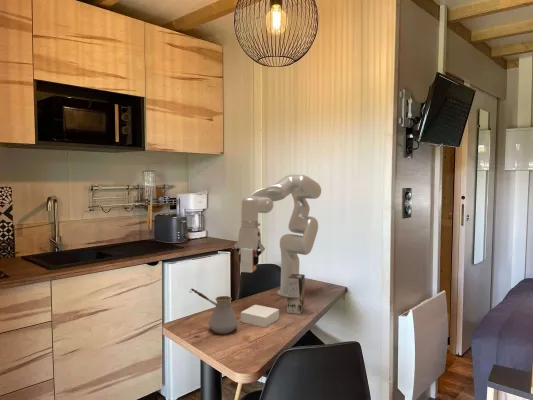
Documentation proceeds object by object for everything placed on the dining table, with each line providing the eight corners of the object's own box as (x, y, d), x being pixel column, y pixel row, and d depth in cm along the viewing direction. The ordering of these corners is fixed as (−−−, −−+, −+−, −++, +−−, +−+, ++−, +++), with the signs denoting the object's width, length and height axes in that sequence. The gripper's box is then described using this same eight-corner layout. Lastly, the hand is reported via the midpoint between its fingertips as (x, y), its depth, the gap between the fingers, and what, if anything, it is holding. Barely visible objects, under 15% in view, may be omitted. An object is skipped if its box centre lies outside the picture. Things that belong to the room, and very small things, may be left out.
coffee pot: (242, 327, 162) (243, 291, 161) (229, 337, 152) (229, 299, 151) (197, 319, 170) (197, 284, 169) (181, 328, 160) (182, 291, 159)
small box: (252, 273, 177) (252, 249, 177) (240, 272, 179) (240, 248, 178) (256, 269, 185) (257, 246, 185) (245, 268, 186) (245, 245, 186)
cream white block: (254, 314, 179) (255, 304, 179) (278, 319, 173) (278, 309, 173) (240, 322, 168) (240, 312, 168) (265, 328, 163) (265, 317, 162)
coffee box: (300, 314, 179) (301, 279, 178) (286, 312, 180) (287, 277, 179) (304, 308, 188) (305, 274, 186) (290, 306, 189) (291, 273, 188)
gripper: (270, 225, 180) (269, 264, 181) (237, 222, 188) (236, 260, 189) (262, 227, 173) (261, 267, 175) (228, 224, 181) (228, 263, 182)
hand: (248, 263), depth 182 cm, fingers closed on small box, 6 cm apart
